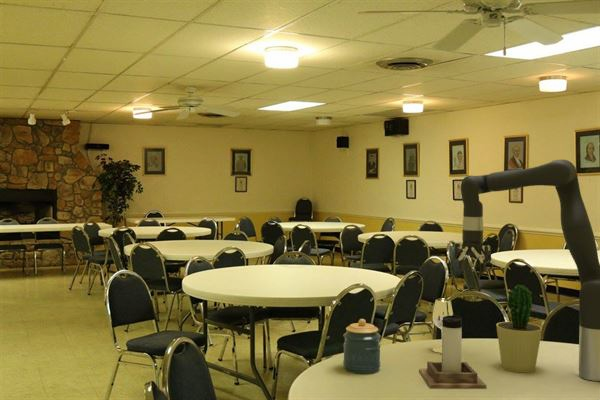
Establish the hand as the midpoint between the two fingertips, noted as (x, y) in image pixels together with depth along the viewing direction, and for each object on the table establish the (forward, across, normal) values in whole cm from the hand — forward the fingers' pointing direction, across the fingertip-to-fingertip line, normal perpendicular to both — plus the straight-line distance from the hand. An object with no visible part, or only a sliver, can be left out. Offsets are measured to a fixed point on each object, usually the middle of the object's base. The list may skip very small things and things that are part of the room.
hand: (472, 271), depth 238 cm
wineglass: (+32, -12, -1) cm, 34 cm away
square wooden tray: (+32, +11, -30) cm, 45 cm away
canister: (+32, -17, -43) cm, 56 cm away
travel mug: (+31, +11, -30) cm, 44 cm away
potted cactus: (+32, +19, 0) cm, 37 cm away
